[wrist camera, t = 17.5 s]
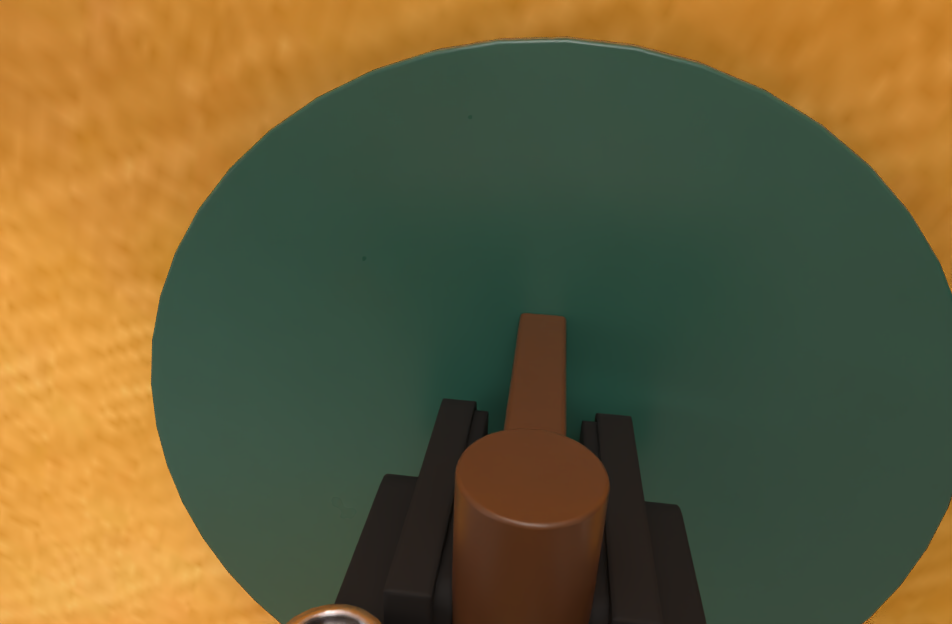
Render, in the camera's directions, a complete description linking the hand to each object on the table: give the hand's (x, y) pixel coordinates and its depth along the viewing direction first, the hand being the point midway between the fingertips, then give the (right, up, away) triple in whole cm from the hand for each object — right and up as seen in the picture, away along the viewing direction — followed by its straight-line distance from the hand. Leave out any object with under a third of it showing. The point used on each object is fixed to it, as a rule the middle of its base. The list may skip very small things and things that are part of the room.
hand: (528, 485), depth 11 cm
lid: (0, 0, +1) cm, 1 cm away
